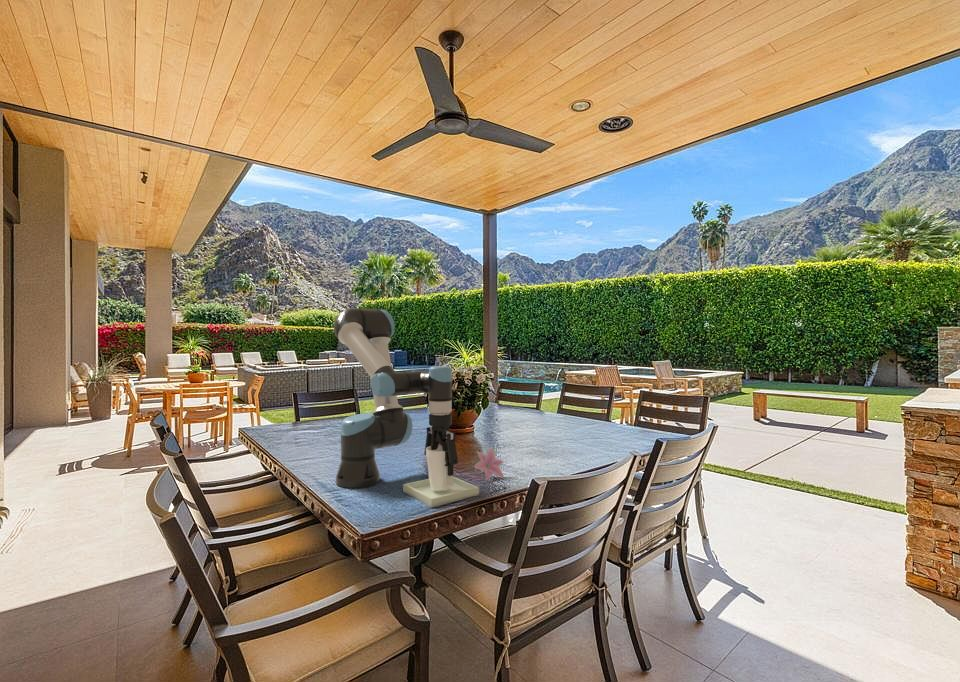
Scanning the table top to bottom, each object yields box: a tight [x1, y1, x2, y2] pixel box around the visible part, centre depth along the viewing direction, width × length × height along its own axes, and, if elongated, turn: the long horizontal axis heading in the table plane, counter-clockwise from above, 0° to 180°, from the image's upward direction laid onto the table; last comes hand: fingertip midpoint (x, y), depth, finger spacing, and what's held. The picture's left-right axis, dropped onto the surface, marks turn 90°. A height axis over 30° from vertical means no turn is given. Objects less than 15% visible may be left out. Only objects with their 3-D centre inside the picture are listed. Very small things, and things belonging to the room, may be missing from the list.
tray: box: [402, 476, 480, 508], centre depth 151 cm, size 18×18×2 cm
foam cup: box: [425, 444, 450, 491], centre depth 151 cm, size 10×9×13 cm
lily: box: [474, 446, 505, 481], centre depth 170 cm, size 12×12×10 cm
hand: (440, 481), depth 151 cm, fingers closed on foam cup, 9 cm apart
